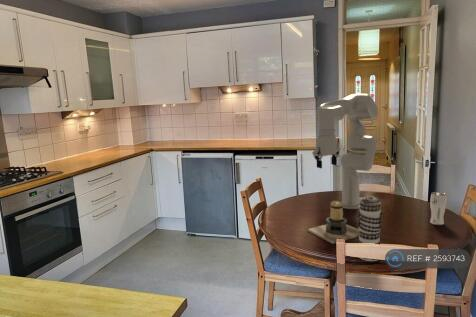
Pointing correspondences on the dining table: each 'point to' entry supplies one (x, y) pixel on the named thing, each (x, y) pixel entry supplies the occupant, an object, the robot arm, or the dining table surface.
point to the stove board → (332, 238)
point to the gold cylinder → (336, 213)
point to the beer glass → (437, 207)
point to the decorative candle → (369, 221)
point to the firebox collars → (342, 226)
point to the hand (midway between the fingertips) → (326, 166)
